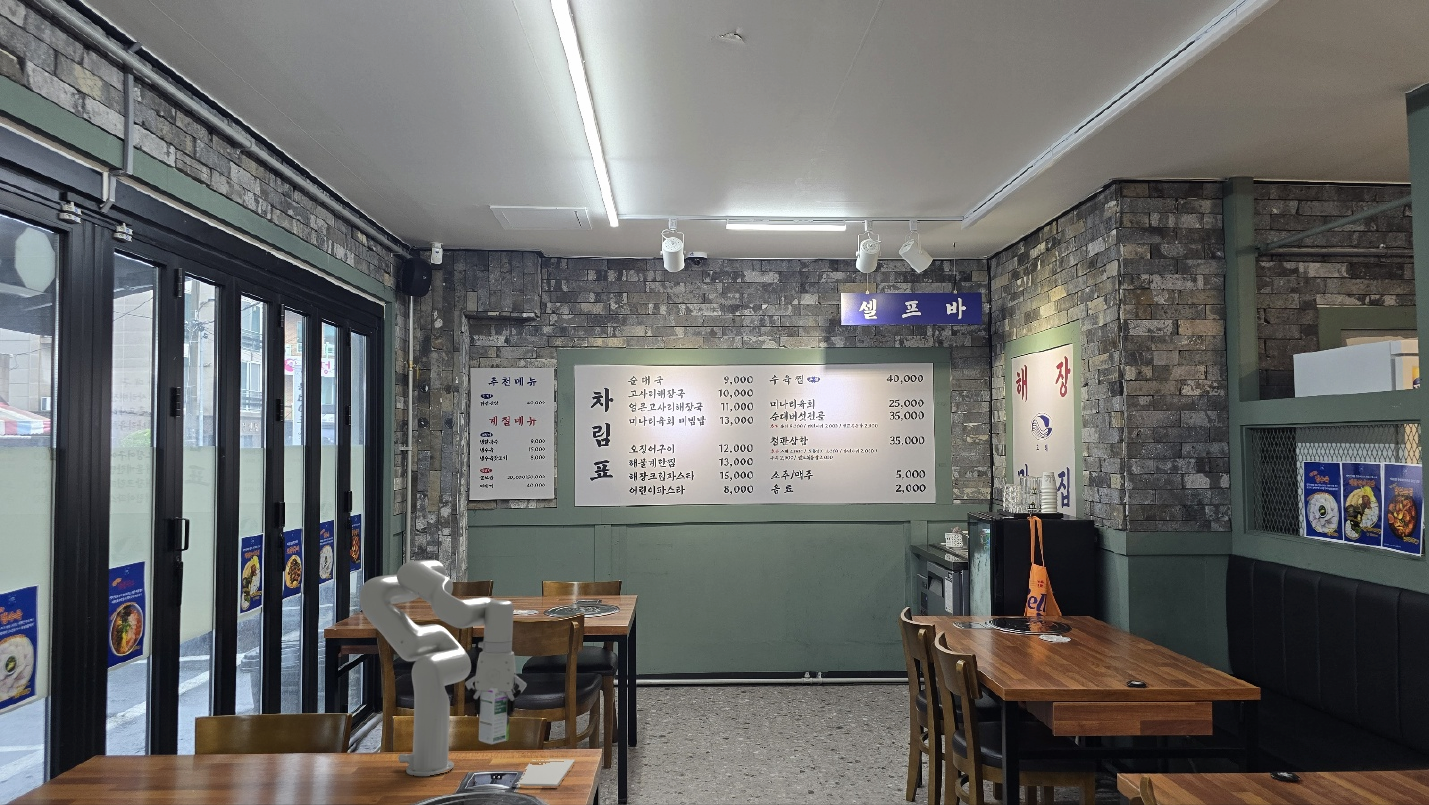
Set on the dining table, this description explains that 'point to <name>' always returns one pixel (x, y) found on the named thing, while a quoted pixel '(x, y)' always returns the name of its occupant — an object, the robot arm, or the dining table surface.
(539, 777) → the cutting board
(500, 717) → the syrup box
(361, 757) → the dining table surface
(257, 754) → the dining table surface
